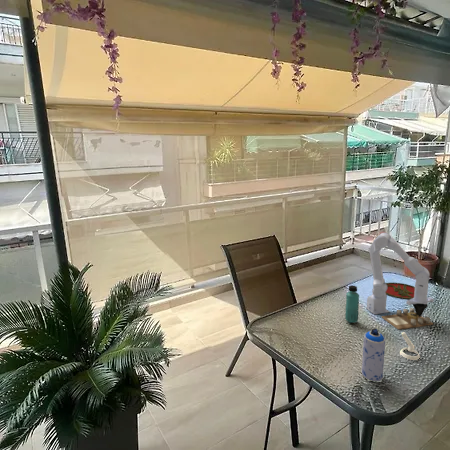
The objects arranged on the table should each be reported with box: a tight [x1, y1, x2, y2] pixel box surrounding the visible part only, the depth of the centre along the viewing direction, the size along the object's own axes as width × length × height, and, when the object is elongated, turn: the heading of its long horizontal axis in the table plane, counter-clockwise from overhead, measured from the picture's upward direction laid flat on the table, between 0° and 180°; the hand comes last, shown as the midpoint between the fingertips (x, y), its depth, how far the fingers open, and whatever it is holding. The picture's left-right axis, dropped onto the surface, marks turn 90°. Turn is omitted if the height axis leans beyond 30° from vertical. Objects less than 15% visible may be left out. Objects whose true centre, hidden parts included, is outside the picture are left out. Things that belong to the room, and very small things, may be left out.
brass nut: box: [407, 311, 419, 321], centre depth 160 cm, size 5×4×2 cm
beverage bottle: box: [344, 285, 360, 323], centre depth 159 cm, size 6×7×20 cm
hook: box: [399, 331, 421, 361], centre depth 133 cm, size 8×12×7 cm
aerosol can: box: [361, 328, 386, 381], centre depth 119 cm, size 8×8×20 cm
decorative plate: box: [385, 282, 415, 301], centre depth 196 cm, size 25×1×25 cm
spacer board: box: [381, 307, 434, 330], centre depth 160 cm, size 20×13×3 cm, turn 101°
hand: (418, 315), depth 161 cm, fingers closed
